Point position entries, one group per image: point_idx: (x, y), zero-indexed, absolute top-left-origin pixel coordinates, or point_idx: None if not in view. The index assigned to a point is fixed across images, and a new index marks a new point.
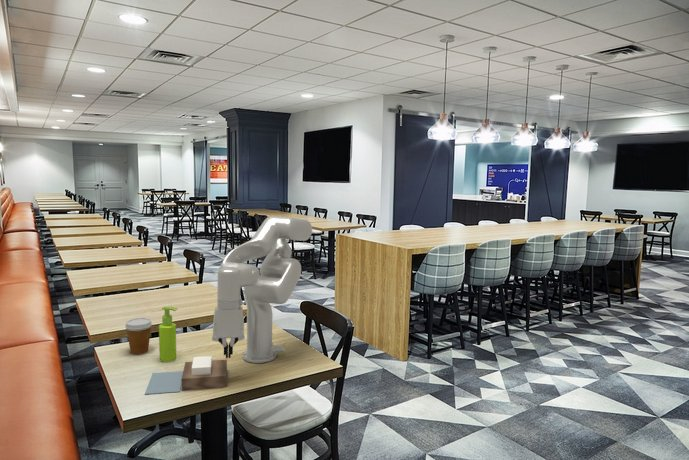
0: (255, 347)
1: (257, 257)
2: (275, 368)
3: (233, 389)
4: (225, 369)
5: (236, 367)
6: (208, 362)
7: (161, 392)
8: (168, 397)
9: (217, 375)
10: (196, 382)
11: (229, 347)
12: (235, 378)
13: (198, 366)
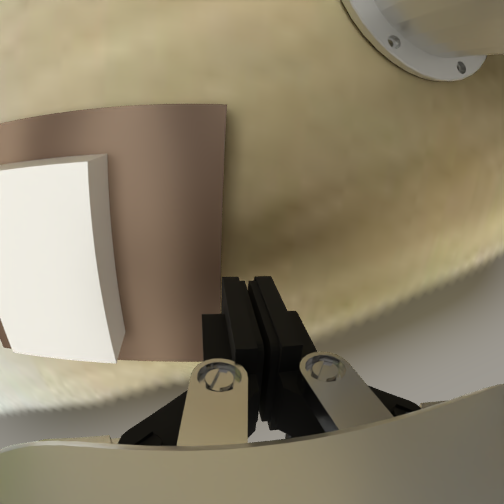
0: (456, 30)
1: None
2: (465, 162)
3: None
4: (214, 284)
5: (286, 80)
6: (82, 294)
7: None
8: (8, 350)
9: (168, 352)
10: None
11: (272, 426)
12: (269, 232)
13: (39, 341)
